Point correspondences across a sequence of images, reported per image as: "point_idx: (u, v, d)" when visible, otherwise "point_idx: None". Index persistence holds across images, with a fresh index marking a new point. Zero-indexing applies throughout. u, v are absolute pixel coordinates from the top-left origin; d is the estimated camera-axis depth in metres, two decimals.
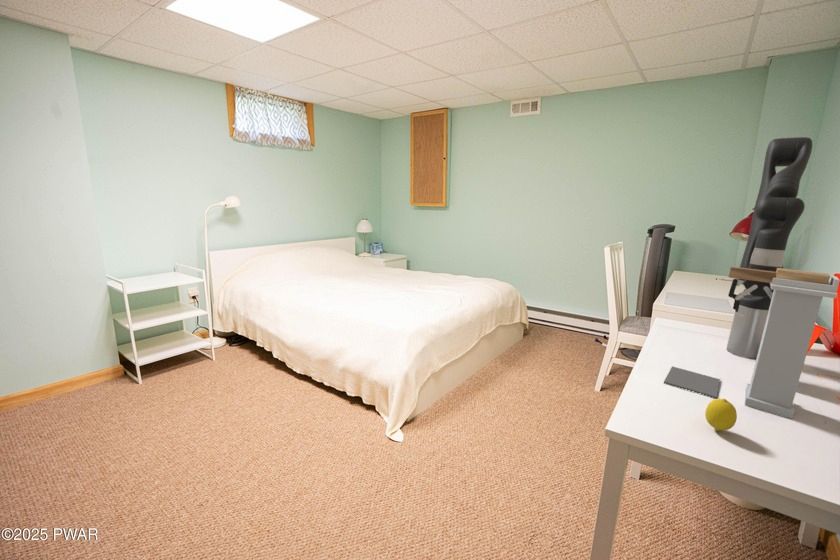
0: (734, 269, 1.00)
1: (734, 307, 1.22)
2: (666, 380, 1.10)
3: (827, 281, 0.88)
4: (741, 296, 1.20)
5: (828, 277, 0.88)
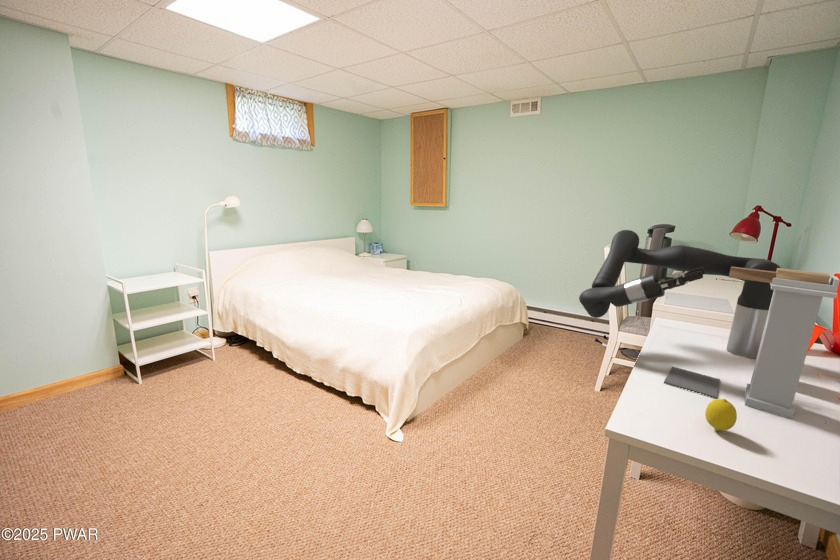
0: (734, 269, 1.00)
1: (695, 273, 1.09)
2: (666, 380, 1.10)
3: (827, 281, 0.88)
4: (679, 276, 1.12)
5: (828, 277, 0.88)
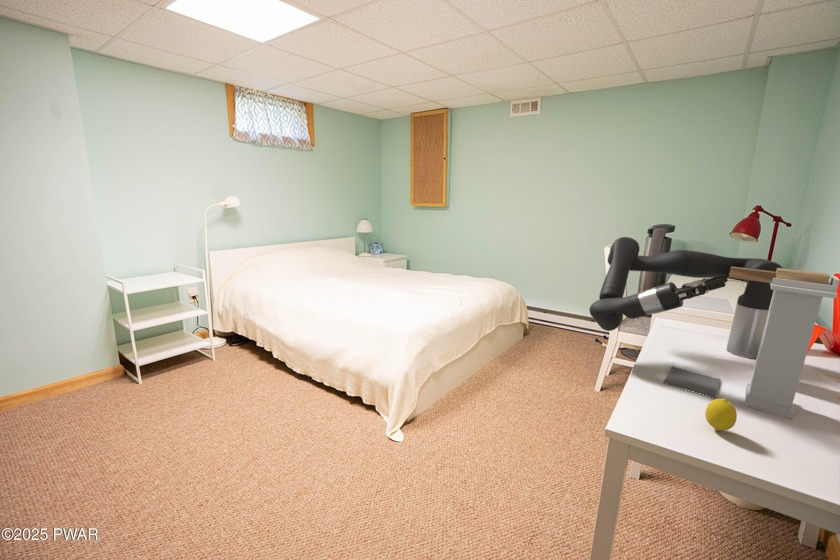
0: (734, 269, 1.00)
1: (717, 281, 0.99)
2: (666, 380, 1.10)
3: (827, 281, 0.88)
4: (699, 284, 1.02)
5: (828, 277, 0.88)
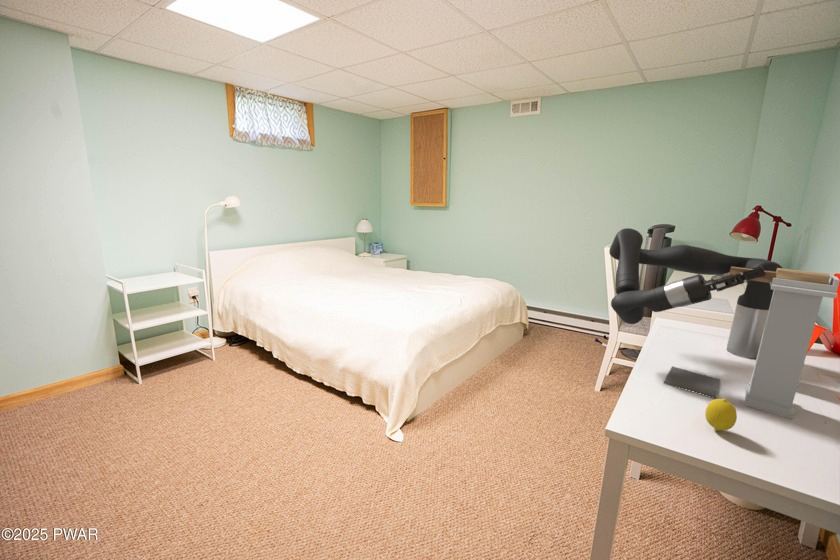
0: (734, 269, 1.00)
1: (756, 270, 0.96)
2: (666, 380, 1.10)
3: (827, 281, 0.88)
4: (735, 274, 0.99)
5: (828, 277, 0.88)
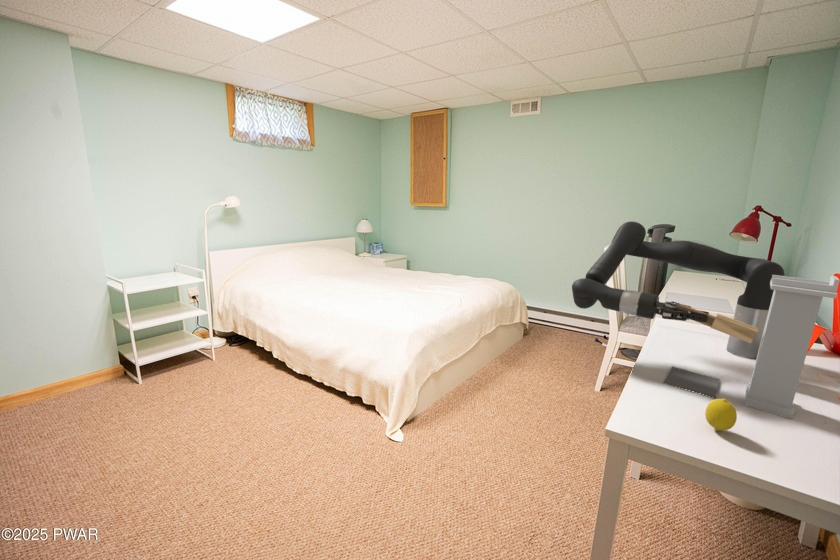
0: (681, 307, 1.09)
1: (701, 315, 1.05)
2: (666, 380, 1.10)
3: (754, 335, 0.98)
4: (684, 310, 1.08)
5: (755, 332, 0.98)
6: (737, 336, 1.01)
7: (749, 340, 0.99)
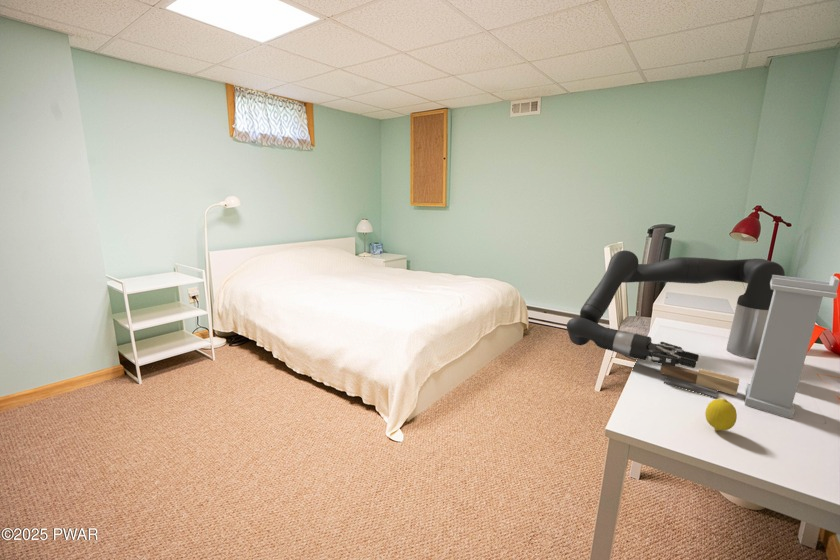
0: (664, 366, 1.14)
1: (690, 361, 1.07)
2: (666, 380, 1.10)
3: (736, 387, 1.02)
4: (674, 354, 1.10)
5: (737, 384, 1.02)
6: (722, 390, 1.04)
7: (734, 392, 1.03)
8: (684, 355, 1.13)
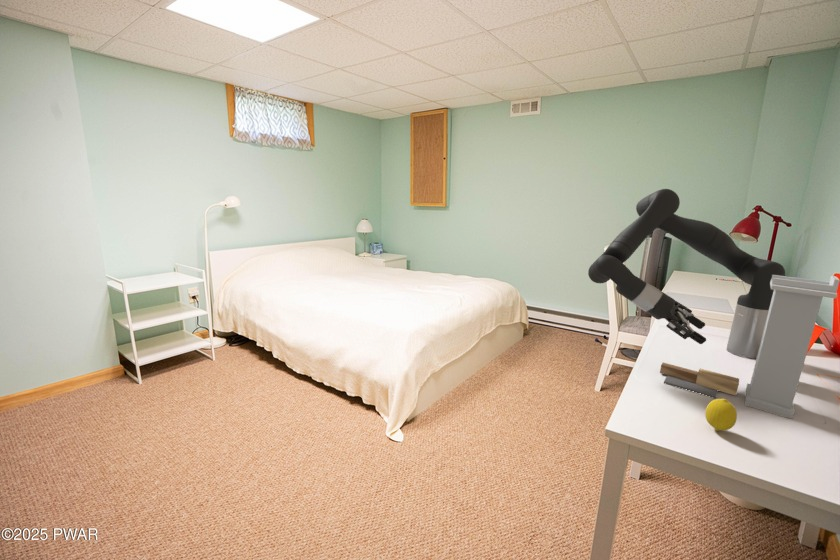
0: (664, 366, 1.14)
1: (701, 338, 1.07)
2: (666, 380, 1.10)
3: (736, 387, 1.02)
4: (689, 327, 1.08)
5: (737, 384, 1.02)
6: (722, 390, 1.04)
7: (734, 392, 1.03)
8: (692, 320, 1.14)
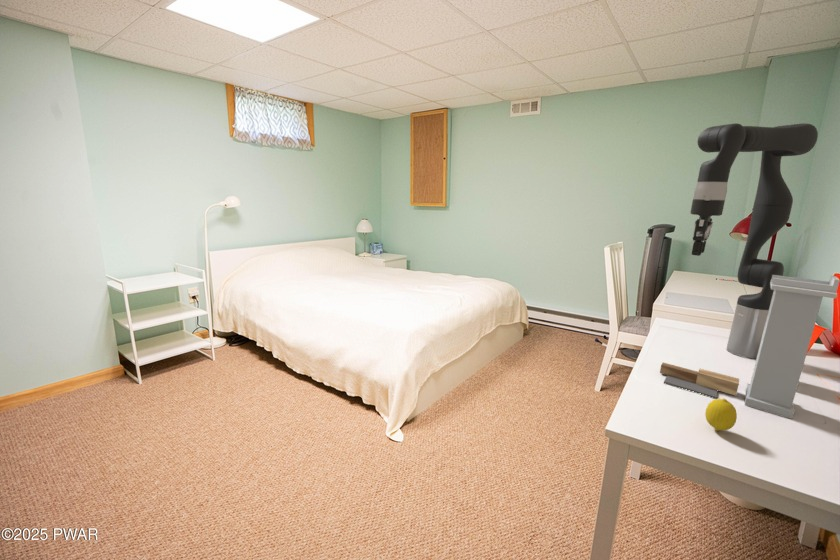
0: (664, 366, 1.14)
1: (699, 251, 1.09)
2: (666, 380, 1.10)
3: (736, 387, 1.02)
4: (704, 237, 1.09)
5: (737, 384, 1.02)
6: (722, 390, 1.04)
7: (734, 392, 1.03)
8: None
